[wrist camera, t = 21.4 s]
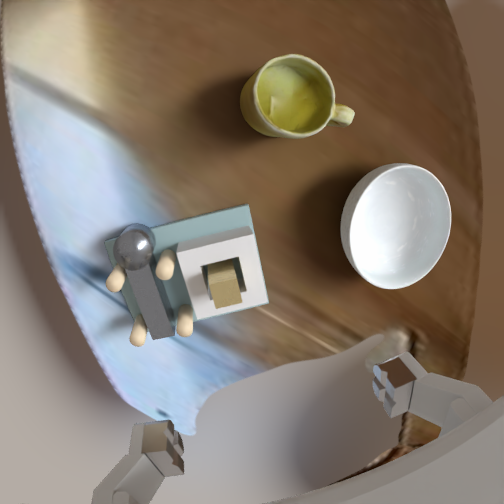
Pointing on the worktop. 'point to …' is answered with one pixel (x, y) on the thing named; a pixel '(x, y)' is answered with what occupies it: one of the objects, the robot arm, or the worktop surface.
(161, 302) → the grey lever handle
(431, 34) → the worktop surface
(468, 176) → the worktop surface
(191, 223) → the jig plate
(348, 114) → the mug
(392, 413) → the robot arm
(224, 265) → the wooden bar
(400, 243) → the cereal bowl
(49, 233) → the worktop surface
